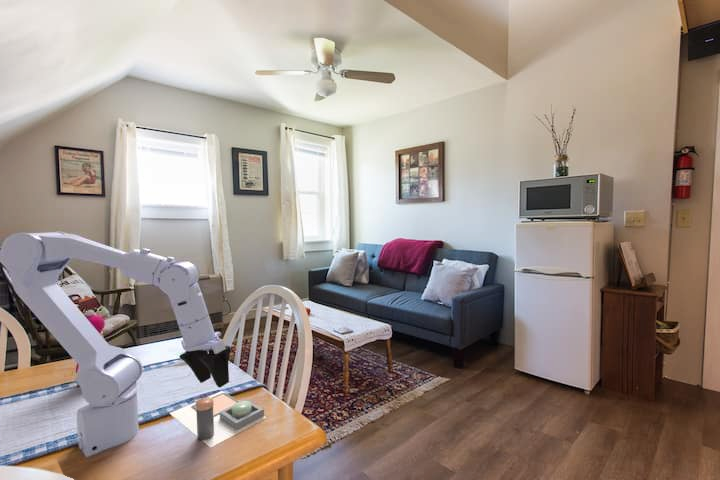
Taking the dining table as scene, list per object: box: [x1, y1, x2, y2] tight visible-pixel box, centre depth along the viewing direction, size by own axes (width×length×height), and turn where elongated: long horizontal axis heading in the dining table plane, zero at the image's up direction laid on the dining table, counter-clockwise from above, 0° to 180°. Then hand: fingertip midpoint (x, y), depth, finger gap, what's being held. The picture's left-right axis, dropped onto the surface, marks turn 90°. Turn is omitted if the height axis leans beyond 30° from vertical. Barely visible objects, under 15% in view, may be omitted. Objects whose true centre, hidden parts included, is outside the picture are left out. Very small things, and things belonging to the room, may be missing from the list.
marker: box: [196, 396, 214, 442], centre depth 67 cm, size 3×3×7 cm
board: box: [168, 390, 267, 448], centre depth 74 cm, size 14×20×2 cm
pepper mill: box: [75, 309, 106, 388], centre depth 91 cm, size 7×7×20 cm
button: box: [232, 400, 252, 419], centre depth 73 cm, size 4×4×2 cm
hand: (214, 382), depth 69 cm, fingers open, 7 cm apart
